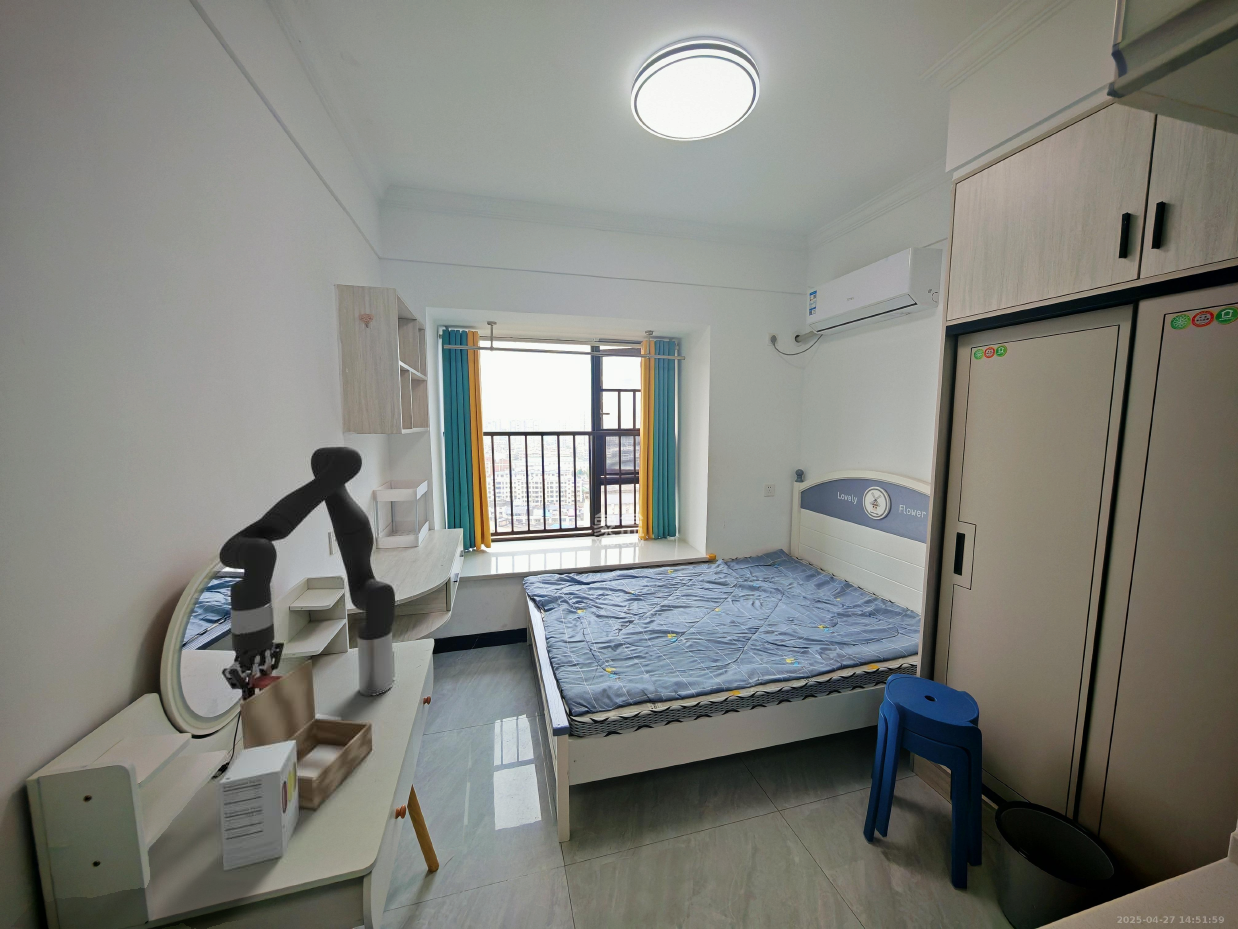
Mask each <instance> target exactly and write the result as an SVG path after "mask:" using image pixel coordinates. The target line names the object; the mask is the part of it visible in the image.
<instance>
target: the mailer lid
mask: <svg viewBox="0 0 1238 929" xmlns="http://www.w3.org/2000/svg"><path fill="white" fill-rule="evenodd" d="M312 662H313V661H312V660H311V659H308V660H307V661H305V662H303V663H302V664H300V665H299V666H297V667H295V668H294V669H293V670H290V672H288V673H286V674H285V675H283V676H282V675H271V676H265V675H259V674H258V676H255V679H254V685H253V686H255V689H258V690H259V689H263V690H261V691H260V692H259V691H258V692H257V693H255V695H253V696H252V697H250V698H249V699H247V700H246V701H243V702H241V703H239V707H240V708H239V709H240V721H241V722H240V723H241V733H242V734H241V735H242V744H243V745H242V746H243V750H245V749H250V748H255V747H260V746H266V745H271V744H276V743H281V742H287V741H288V740H289V739H290V738H292V737H293V736H294V735H295V734H296V733H298V732H299V731H300V730H301V729H303V728H304V727H305V726H306V725H307V724H309V723H310V722H311V721H312V720H314V719H315V715H316V707H315V706H316V705H315V694H314V692H315V691H314V690H315V689H314V677H313V675H314V674H313V663H312Z"/></svg>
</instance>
